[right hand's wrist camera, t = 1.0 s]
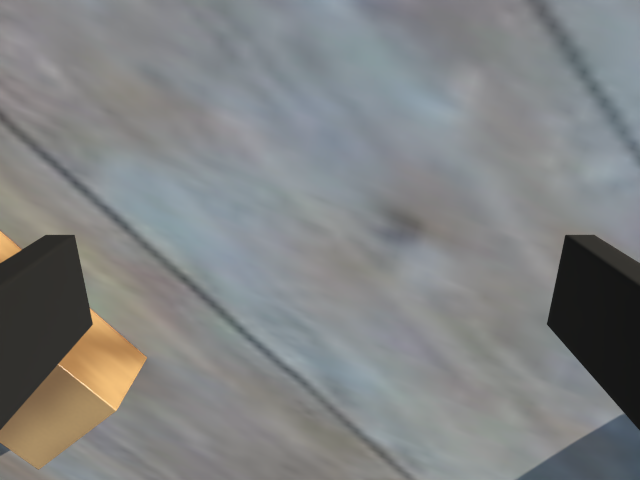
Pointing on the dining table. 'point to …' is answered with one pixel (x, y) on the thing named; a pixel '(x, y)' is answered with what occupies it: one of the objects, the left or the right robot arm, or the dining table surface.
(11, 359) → the right robot arm
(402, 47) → the dining table surface
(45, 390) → the thick board
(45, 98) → the dining table surface
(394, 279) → the dining table surface
